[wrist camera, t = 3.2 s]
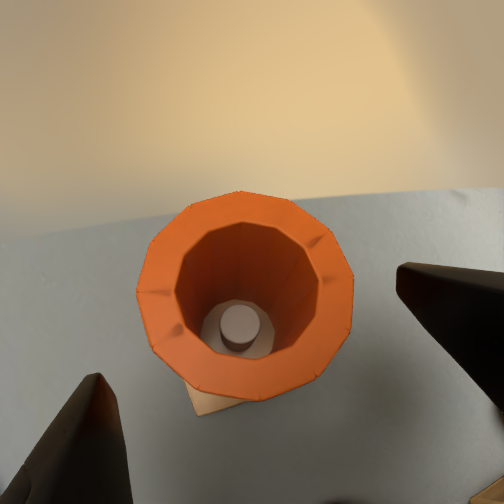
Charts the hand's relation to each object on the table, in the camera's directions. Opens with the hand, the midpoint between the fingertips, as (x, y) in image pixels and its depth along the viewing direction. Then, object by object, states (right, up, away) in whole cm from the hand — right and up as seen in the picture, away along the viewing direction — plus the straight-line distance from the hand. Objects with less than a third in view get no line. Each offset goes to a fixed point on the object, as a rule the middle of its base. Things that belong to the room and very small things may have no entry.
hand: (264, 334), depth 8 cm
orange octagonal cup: (-1, -2, +8) cm, 9 cm away
